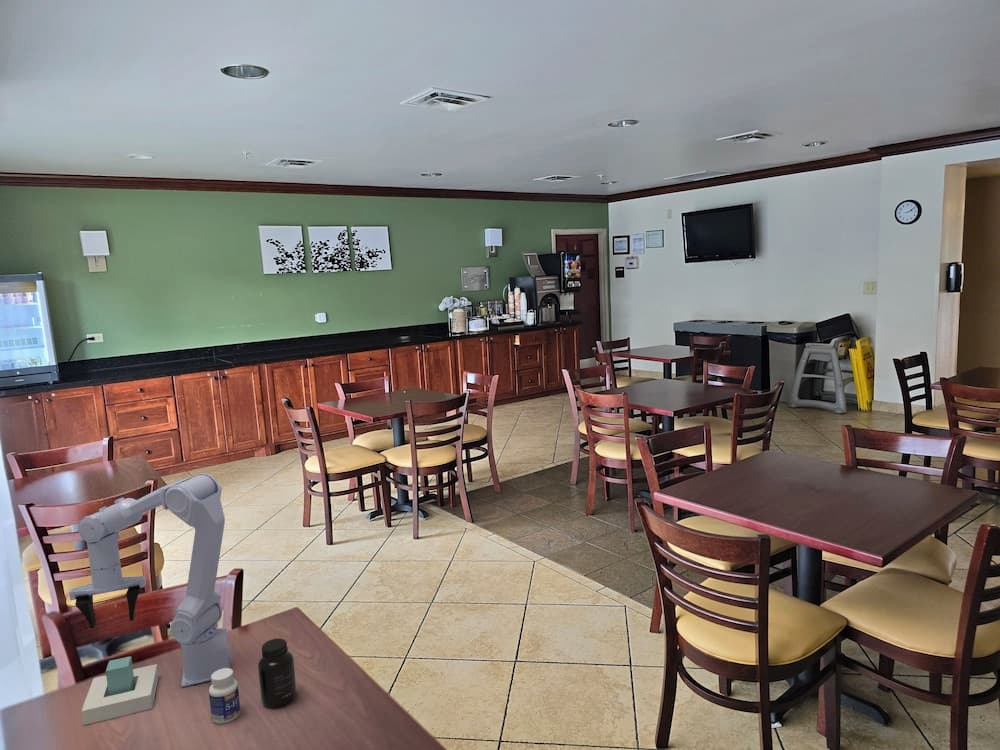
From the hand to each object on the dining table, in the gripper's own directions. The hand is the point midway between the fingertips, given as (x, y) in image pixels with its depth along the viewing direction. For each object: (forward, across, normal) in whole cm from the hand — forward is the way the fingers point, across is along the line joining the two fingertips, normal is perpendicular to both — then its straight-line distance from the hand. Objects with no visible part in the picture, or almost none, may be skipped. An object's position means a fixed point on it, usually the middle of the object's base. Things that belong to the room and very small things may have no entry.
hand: (112, 622), depth 147 cm
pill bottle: (+11, -23, +30) cm, 39 cm away
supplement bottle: (+11, -33, +29) cm, 45 cm away
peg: (+10, -3, +15) cm, 18 cm away
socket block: (+10, -3, +15) cm, 18 cm away
